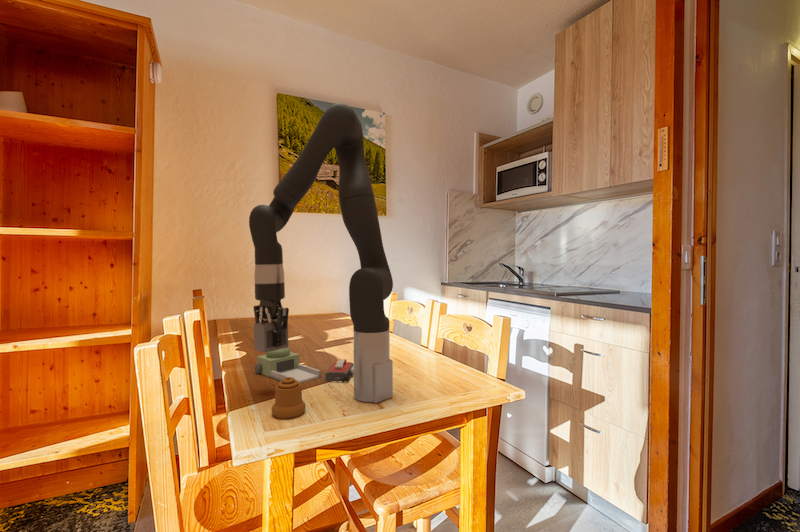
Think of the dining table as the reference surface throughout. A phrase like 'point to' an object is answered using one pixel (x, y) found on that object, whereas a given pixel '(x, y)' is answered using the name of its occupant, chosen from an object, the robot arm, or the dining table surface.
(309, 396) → the dining table surface
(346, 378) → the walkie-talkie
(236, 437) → the dining table surface
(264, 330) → the grey cube box
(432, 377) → the dining table surface
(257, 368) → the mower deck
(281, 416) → the ornamental finial
